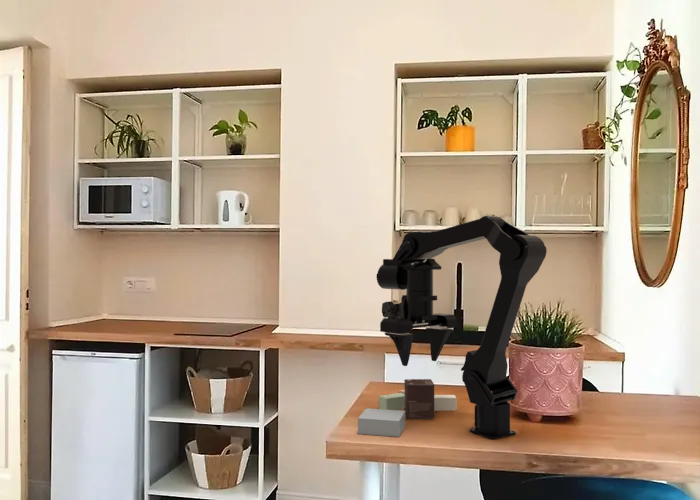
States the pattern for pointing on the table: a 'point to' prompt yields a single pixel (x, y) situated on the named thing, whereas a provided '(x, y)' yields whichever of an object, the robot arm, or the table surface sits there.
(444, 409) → the cream brick
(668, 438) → the table surface
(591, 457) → the table surface
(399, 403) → the sage brick
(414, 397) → the box
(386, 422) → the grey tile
